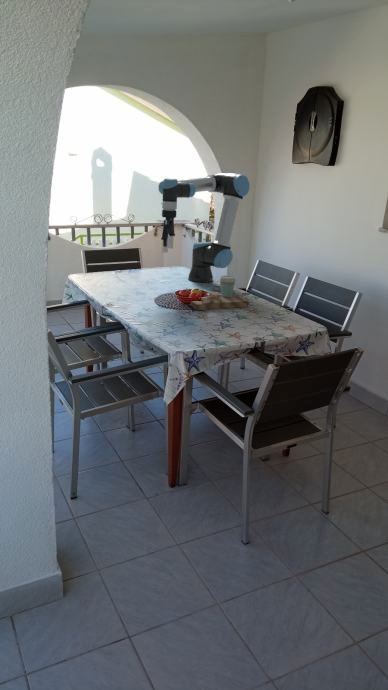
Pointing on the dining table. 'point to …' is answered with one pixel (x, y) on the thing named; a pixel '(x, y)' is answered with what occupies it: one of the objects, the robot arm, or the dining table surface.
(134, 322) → the dining table surface
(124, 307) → the dining table surface
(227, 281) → the coffee cup
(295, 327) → the dining table surface
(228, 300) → the board
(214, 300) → the gauge
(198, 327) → the dining table surface
